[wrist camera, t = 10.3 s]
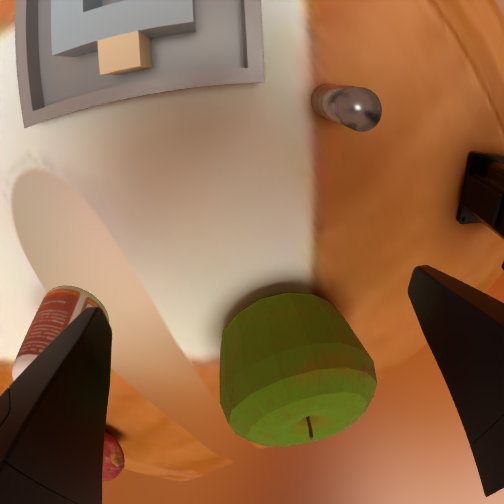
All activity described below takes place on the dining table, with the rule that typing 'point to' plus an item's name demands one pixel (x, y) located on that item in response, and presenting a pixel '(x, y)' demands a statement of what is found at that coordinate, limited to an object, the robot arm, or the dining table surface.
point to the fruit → (112, 458)
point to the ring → (117, 30)
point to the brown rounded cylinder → (347, 106)
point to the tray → (143, 81)
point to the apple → (293, 371)
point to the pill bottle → (52, 322)
